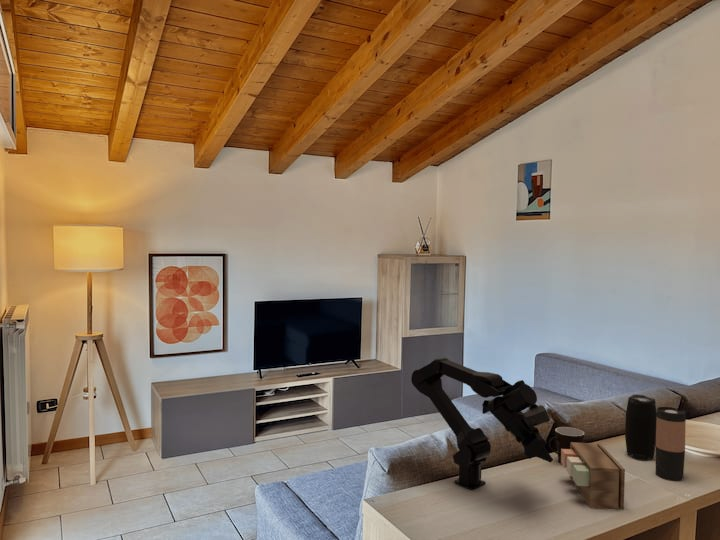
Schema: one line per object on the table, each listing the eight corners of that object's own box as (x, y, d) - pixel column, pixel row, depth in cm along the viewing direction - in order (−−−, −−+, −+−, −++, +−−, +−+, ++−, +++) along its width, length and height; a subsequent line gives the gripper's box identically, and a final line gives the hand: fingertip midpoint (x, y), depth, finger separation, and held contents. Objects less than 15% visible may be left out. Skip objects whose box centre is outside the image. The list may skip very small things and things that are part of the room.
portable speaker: (662, 460, 174) (664, 400, 173) (638, 462, 171) (640, 402, 171) (641, 450, 182) (643, 393, 181) (618, 452, 180) (620, 394, 179)
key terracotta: (564, 467, 154) (564, 453, 154) (560, 462, 158) (561, 448, 158) (586, 468, 153) (586, 454, 153) (582, 463, 157) (582, 449, 157)
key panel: (590, 507, 140) (591, 467, 140) (569, 477, 159) (570, 442, 159) (623, 509, 140) (624, 469, 139) (599, 479, 158) (599, 443, 158)
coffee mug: (578, 458, 175) (579, 427, 174) (587, 468, 166) (588, 436, 166) (542, 456, 176) (542, 426, 176) (548, 466, 167) (549, 435, 167)
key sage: (577, 485, 142) (577, 470, 142) (572, 479, 146) (573, 464, 146) (600, 486, 141) (601, 471, 141) (595, 480, 145) (596, 466, 145)
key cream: (570, 476, 148) (570, 462, 148) (566, 470, 152) (566, 456, 152) (593, 477, 147) (593, 463, 147) (588, 471, 151) (588, 457, 151)
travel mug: (656, 478, 159) (658, 412, 158) (653, 469, 166) (655, 405, 165) (686, 483, 156) (688, 415, 155) (681, 473, 163) (683, 408, 163)
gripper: (539, 406, 135) (583, 451, 134) (524, 387, 154) (563, 427, 153) (506, 435, 136) (550, 481, 135) (495, 413, 155) (534, 453, 154)
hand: (550, 458), depth 144 cm, fingers open, 3 cm apart
